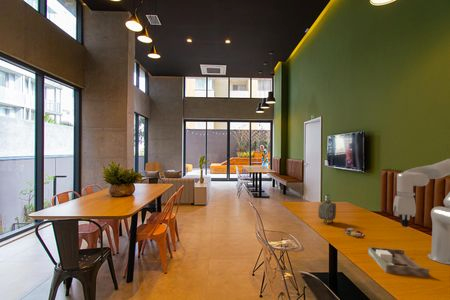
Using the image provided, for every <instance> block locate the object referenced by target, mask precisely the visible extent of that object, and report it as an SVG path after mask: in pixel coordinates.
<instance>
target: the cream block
mask: <svg viewBox="0 0 450 300" xmlns="http://www.w3.org/2000/svg"><path fill="white" fill-rule="evenodd" d="M376 254H377V255H379V256H380V257H381V258H382V259H383V260H384V261H386V262H392V254H391V253H389V252H388V251H387V250H376Z"/></svg>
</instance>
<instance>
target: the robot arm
mask: <svg viewBox="0 0 450 300" xmlns="http://www.w3.org/2000/svg"><path fill="white" fill-rule="evenodd" d="M446 176H450V158H447V159H444V160H442V161H439V162H436V163H433V164H430V165H429V164H428V165H424V166H423V165H422V166H417V167H413V168H409V169H407V170H404V171H402V172H399V173H397V174H396V195H395V196H394V199H393V204H392V205H393V206H392V207H393V209H392V211H393V214H394V216H395V217H398V218H399V219H400V224H401V226H402V227H403V228H408V227H409V221H410V219H411V218H413V217H416V213H417V206H416V200H415V197H414V196H416V193H415V192H414V187H416V186H417V187H424V186H425V187H426V186H427V185H428V184H429V183H430V180H431V179H432V180H434V179H436V180H437V179H441V178H444V177H446ZM443 205H444V206H435V207H433V208H432V209H431V211H430V218H431V222H432V223H431V224H432V225H431V226H432V230H431V252H430V253H428V254H427V257H428V259H430V260H432V261H434V262H438V263H440V264H444V265H450V191H449V192H448V193H447V195H446V196H445V198H444V199H443Z"/></svg>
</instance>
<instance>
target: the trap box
mask: <svg viewBox="0 0 450 300" xmlns="http://www.w3.org/2000/svg"><path fill="white" fill-rule="evenodd" d="M376 250H387V251H388V252H389V253H391V254H392V262H386V261H384V260H383V259H382V258H381V257H380V256H379V255H377V254H376ZM367 255H369V256H370V257H371V259H373V261H375V263H377V265H378V266H379V267H380V268H381V269H382V270H383V271H384V272H385V273H386V274H396V275H405V276H413V277H414V276H416V277H423V278H430V269H429V268H426V267H421V266H420V265H419V264H418V263H416V262H415V261H414V260H413V259H411V258H410V257H408V256H407V255H406V254H405V250H404V249H398V248H397V249H394V248H384V247H374V246H371V247H370V246H368V247H367Z"/></svg>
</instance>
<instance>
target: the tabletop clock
mask: <svg viewBox="0 0 450 300" xmlns="http://www.w3.org/2000/svg"><path fill="white" fill-rule="evenodd" d="M330 198H331V195H330V194H326V195H325V200H324V201H323V202H320V203H319V204H318V212H317V213H318V218H319V219H321V220H323V223H325V225H326V226H328V224H329V223H328V222H331V223H334V220H335V219H336V215H337V214H336V212H337V205H336V203H334V202H331V200H330Z"/></svg>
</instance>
